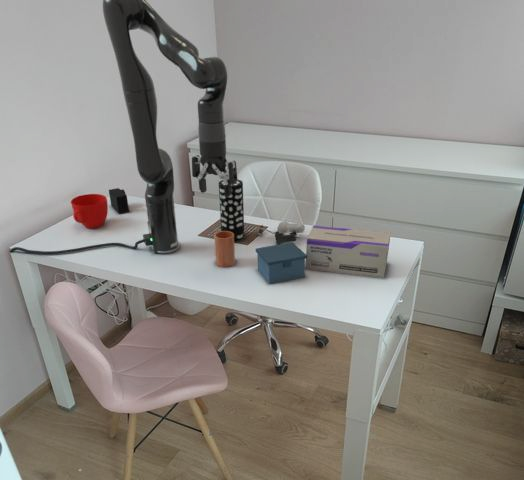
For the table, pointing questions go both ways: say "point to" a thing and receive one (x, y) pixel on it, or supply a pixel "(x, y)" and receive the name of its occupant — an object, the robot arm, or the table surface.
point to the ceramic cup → (90, 210)
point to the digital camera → (119, 200)
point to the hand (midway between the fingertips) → (215, 194)
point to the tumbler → (224, 248)
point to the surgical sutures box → (347, 251)
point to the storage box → (281, 262)
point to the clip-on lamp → (285, 231)
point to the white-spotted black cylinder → (232, 210)
